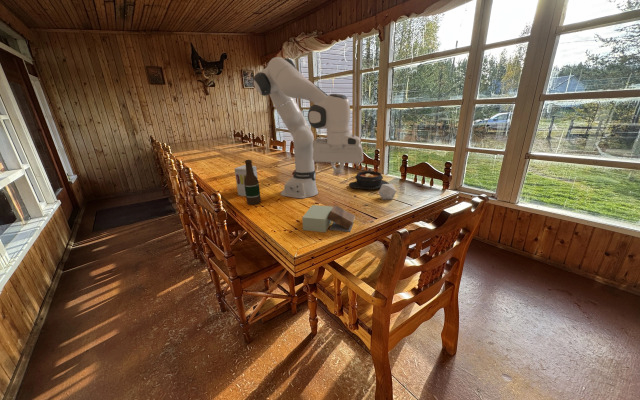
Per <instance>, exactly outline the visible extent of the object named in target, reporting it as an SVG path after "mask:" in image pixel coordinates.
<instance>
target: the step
mask: <svg viewBox="0 0 640 400" xmlns="http://www.w3.org/2000/svg"><path fill="white" fill-rule="evenodd" d="M333 207H334V206H331V205H316V204H312V205H311V206H310V208H309V209H308V210H307V211H306V212H305V213H304V215H303V216H302V217H301V218H302V219H301V220H302V230H303V231H307V232H310V231H311V232H319V233H326V232H327V231H328V229H329V228H330V225H331V224H332V223H333V221H331V220H329V219H328V217H329V215H330V213H331V211H332V209H333Z"/></svg>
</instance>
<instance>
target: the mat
mask: <svg viewBox="0 0 640 400" xmlns="http://www.w3.org/2000/svg"><path fill="white" fill-rule="evenodd" d="M330 225H331V226H329V228H328V229H329V231H337V232H346V233H347V232H349V233H351V232H352V228H353V225H354V221H353V223H352V225H351V227H350V229H349V230H348V229H346V228H344V227H342V226H341V225H339V224H337V223H335V222H333V221H332V222H331V224H330Z"/></svg>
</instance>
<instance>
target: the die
mask: <svg viewBox="0 0 640 400" xmlns="http://www.w3.org/2000/svg"><path fill="white" fill-rule="evenodd" d="M396 193H397V189H396V188H395V186H394V185H393V183H389V184H382V186H381V187H380V188H379V190H378V194H379V196H380V197H381V199H382V200H383V201H384V200H387V201H388V200H393V199H394V198H395V195H396Z"/></svg>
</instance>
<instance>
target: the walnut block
mask: <svg viewBox="0 0 640 400" xmlns="http://www.w3.org/2000/svg"><path fill="white" fill-rule="evenodd" d="M332 207H333V209H332V211H331V213H330V215H329V217H328V219H329V220H331V221H332V223H333V222H335V223H337V224H339V225H341V226H342V227H344V228H346V229H348V230H349V229H350V227H351V225H352V223H353V222H354V221H355V219H356V215H355V214H354V213H351V212H350V211H347V210H345V209H344V208H342V207H340V206H338V205H336V204H335V205H334V206H332ZM353 224H354V223H353Z"/></svg>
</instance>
